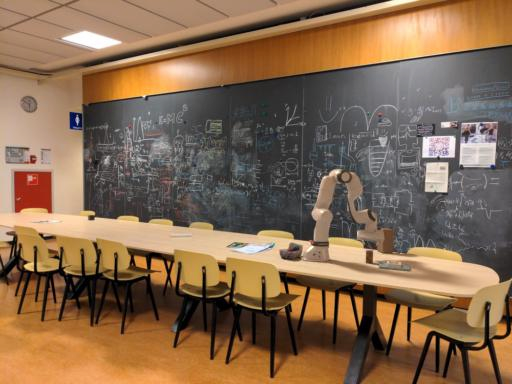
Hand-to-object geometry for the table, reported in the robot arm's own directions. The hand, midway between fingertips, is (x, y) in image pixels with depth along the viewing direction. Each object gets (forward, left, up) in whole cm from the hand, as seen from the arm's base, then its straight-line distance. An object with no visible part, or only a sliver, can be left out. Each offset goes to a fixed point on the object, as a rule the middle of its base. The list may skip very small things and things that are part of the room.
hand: (370, 244), depth 288 cm
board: (+10, -21, -12) cm, 26 cm away
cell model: (-59, +8, -12) cm, 61 cm away
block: (+25, +31, -12) cm, 41 cm away
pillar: (-3, -8, -12) cm, 15 cm away
